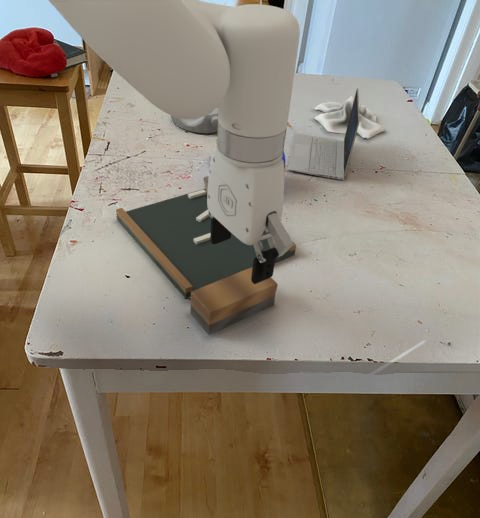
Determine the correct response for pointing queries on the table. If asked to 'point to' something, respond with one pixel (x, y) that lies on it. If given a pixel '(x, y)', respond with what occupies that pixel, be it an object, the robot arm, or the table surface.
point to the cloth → (347, 118)
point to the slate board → (187, 243)
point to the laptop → (325, 150)
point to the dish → (199, 123)
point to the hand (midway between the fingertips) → (240, 259)
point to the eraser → (231, 300)
